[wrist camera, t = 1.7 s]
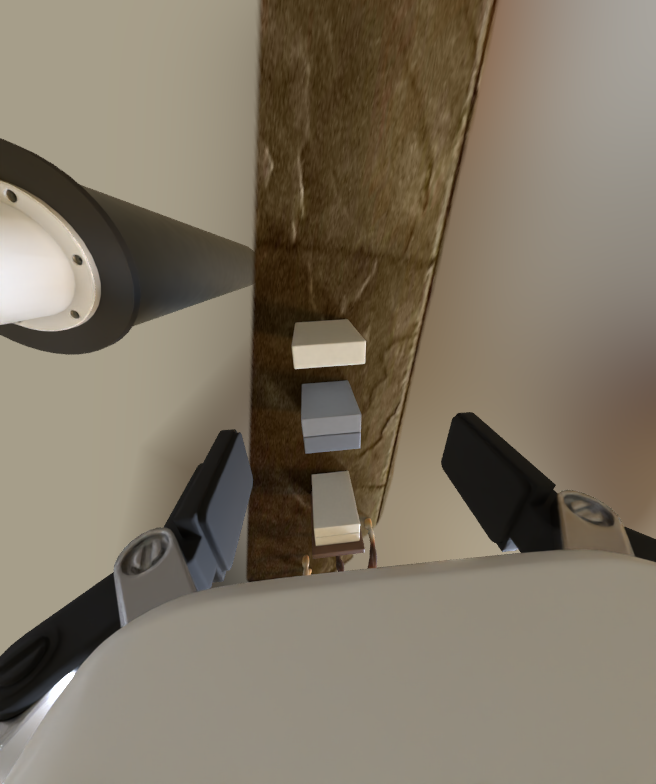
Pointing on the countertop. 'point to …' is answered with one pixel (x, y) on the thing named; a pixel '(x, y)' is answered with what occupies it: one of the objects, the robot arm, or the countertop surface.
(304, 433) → the grey books
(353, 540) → the white books
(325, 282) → the countertop surface
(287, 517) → the countertop surface
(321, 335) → the white book
